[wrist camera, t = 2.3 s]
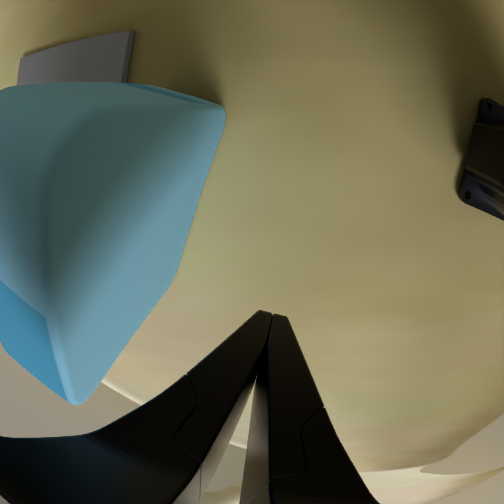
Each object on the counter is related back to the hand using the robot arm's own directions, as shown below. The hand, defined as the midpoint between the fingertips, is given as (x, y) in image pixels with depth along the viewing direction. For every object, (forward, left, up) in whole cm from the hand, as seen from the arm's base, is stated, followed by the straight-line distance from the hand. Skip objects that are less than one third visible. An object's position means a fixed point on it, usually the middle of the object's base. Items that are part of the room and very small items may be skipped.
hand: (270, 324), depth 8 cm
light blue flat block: (+8, 0, -9) cm, 12 cm away
